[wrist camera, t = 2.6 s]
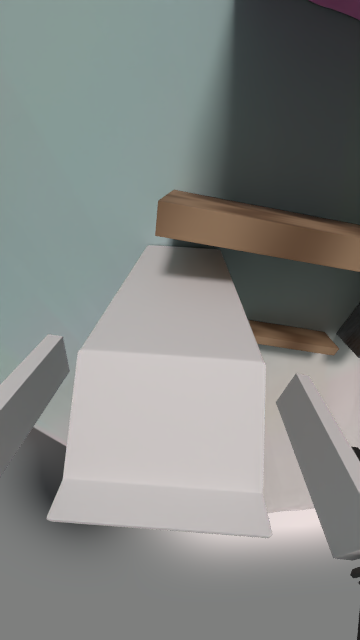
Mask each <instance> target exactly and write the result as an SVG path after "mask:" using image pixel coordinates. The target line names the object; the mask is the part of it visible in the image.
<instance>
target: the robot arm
mask: <svg viewBox="0 0 360 640" xmlns="http://www.w3.org/2000/svg"><path fill="white" fill-rule="evenodd" d="M69 371H70V370H69V365H68V360H67V356H66V351H65V346H64V341H63V336H56V335H50V334H48V335H47V336H46V337H45V338H44V339H43V340H42V341H41V342H40V343H39V345H38V346H37V347H36V348H35V349H34V350H33V351H32V352H31V353H30V354H29V355H28V356H27V357H26V358H25V359H24V360H23V361H22V362H21V363H20V365H19V366H18V367H17V368H16V369H15V370H14V371H13V372H12V373H11V374H10V375H9V376H8V377H7V378H6V379H5V380H4V381H3V382H2V383H1V385H0V477H1V475H2V474H3V472H4V471H5V469H6V468H7V466H8V464H9V463H10V461H11V460H12V458H13V457H14V455H15V454H16V452H17V451H18V449H19V448H20V446H21V445H22V443H23V442H24V440H25V439H26V437H27V435H28V434H29V432H30V431H31V429H32V428H33V426H34V425H35V423H36V422H37V420H38V419H39V417H40V416H41V414H42V413H43V411H44V409H45V408H46V406H47V405H48V403H49V402H50V400H51V399H52V397H53V396H54V394H55V393H56V391H57V390H58V388H59V387H60V385H61V384H62V382H63V380H64V379H65V377H66V376H67V374H68V373H69ZM276 404H277V406H278V409H279V412H280V415H281V417H282V420H283V423H284V425H285V428H286V431H287V434H288V436H289V439H290V442H291V444H292V447H293V450H294V453H295V455H296V458H297V461H298V463H299V466H300V469H301V472H302V474H303V477H304V480H305V483H306V485H307V488H308V491H309V493H310V496H311V499H312V502H313V504H314V507H315V510H316V512H317V515H318V518H319V520H320V523H321V526H322V529H323V531H324V534H325V537H326V539H327V542H328V545H329V548H330V550H331V553H332V556H333V558H337V559H346V560H356V559H360V450H359V448H357V447H351V446H350V444H349V442H348V441H347V439H346V437H345V436H344V434H343V432H342V430H341V429H340V427H339V425H338V424H337V422H336V420H335V419H334V417H333V415H332V413H331V412H330V410H329V408H328V407H327V405H326V403H325V402H324V400H323V398H322V396H321V395H320V393H319V391H318V390H317V388H316V386H315V385H314V383H313V381H312V379H311V378H310V376H309V375H304V374H297V373H296V374H295V376H294V377H293V378H292V380H291V381H290V383H289V384H288V386H287V387H286V389H285V390H284V391H283V393H282V394H281V396H280V397H279V399H278V400H277V401H276ZM351 576H352V577H353V578H357V577H360V567H357V568H355V569H353V570H352V572H351ZM359 584H360V581H359ZM357 640H360V613H359V624H358V636H357Z"/></svg>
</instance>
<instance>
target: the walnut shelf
mask: <svg viewBox="0 0 360 640" xmlns="http://www.w3.org/2000/svg"><path fill="white" fill-rule="evenodd" d="M155 236H160V237H166V238H171V239H177V240H183V241H188V242H194V243H200V244H205V245H211V246H217V247H222V248H228V249H233V250H239V251H245V252H250V253H256V254H262V255H267V256H273V257H279V258H284V259H290V260H296V261H301V262H307V263H313V264H318V265H324V266H329V267H335V268H341V269H346V270H352V271H358V272H360V225H357V224H352V223H347V222H341V221H336V220H331V219H326V218H320V217H315V216H310V215H304V214H299V213H294V212H289V211H283V210H278V209H273V208H267V207H262V206H257V205H252V204H246V203H241V202H236V201H230V200H225V199H220V198H215V197H209V196H204V195H199V194H193V193H188V192H183V191H178V190H173V191H171V192H170V193H169V194H167V195H166V196H164V197H163V198H162V199H160V200H159V201H158V210H157V222H156V233H155ZM248 322H249V324H250V327H251V329H252V332H253V334H254V337H255V339H256V342H257V344H263V345H269V346H276V347H282V348H289V349H295V350H301V351H308V352H314V353H321V354H327V355H335V353H336V352H337V351H338V350H339V348H338V347H337V346H336V345H335V343H334V342H333V341H332V340H331V339H330V338H329V337H328V335H327V334H326V333H325V332H322V331H315V330H309V329H303V328H297V327H290V326H284V325H278V324H271V323H265V322H259V321H253V320H248Z"/></svg>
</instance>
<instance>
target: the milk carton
mask: <svg viewBox="0 0 360 640" xmlns="http://www.w3.org/2000/svg"><path fill="white" fill-rule="evenodd" d="M265 387H266V363H265V362H264V360H263V357H262V355H261V352H260V349H259V347H258V344H257V342H256V339H255V337H254V334H253V332H252V329H251V327H250V324H249V322H248V319H247V316H246V314H245V311H244V309H243V306H242V304H241V301H240V299H239V296H238V294H237V291H236V288H235V286H234V283H233V281H232V278H231V276H230V273H229V271H228V268H227V266H226V263H225V261H224V258H223V255H222V253H221V251H220V250H218V249H205V248H189V247H173V246H156V245H148V246H147V247H146V248H145V250H144V252H143V253H142V255H141V256H140V258H139V259H138V261H137V262H136V264H135V265H134V267H133V269H132V270H131V272H130V273H129V275H128V276H127V278H126V279H125V281H124V282H123V284H122V286H121V287H120V289H119V290H118V292H117V293H116V295H115V296H114V298H113V299H112V301H111V303H110V304H109V306H108V307H107V309H106V310H105V312H104V313H103V315H102V316H101V318H100V319H99V321H98V323H97V324H96V326H95V327H94V329H93V330H92V332H91V333H90V335H89V336H88V338H87V340H86V341H85V343H84V344H83V346H82V347H81V349H80V350H79V351H78V356H77V364H76V373H75V381H74V390H73V398H72V407H71V415H70V424H69V432H68V441H67V449H66V458H65V467H64V474H63V480H62V482H61V485H60V487H59V490H58V492H57V494H56V496H55V499H54V501H53V504H52V506H51V508H50V511H49V513H48V515H47V519H48V520H49V521H55V522H67V523H80V524H93V525H106V526H120V527H131V528H132V527H133V528H145V529H158V530H170V531H184V532H196V533H209V534H222V535H235V536H248V537H249V536H250V537H261V538H269V537H271V536H272V531H271V527H270V522H269V518H268V513H267V509H266V504H265V500H264V495H263V480H264V433H265Z"/></svg>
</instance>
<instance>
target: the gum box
mask: <svg viewBox="0 0 360 640" xmlns="http://www.w3.org/2000/svg"><path fill="white" fill-rule="evenodd" d="M309 1H311V2H313V3H315V4H318V5H320V6H323V7H327V8H331V9H333V10H336V11H339V12H342V13H344V14H347V15H349V16H351V17H354V18H356V19H358V20H360V0H309Z"/></svg>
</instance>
